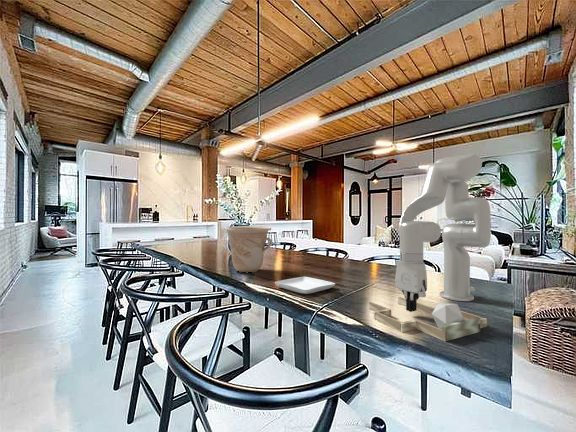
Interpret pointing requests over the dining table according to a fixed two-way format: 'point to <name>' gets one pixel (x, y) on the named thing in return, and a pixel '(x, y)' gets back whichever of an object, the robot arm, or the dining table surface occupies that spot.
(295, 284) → the salad plate
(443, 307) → the die
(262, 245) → the vessel
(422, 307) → the channel
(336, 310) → the dining table surface
